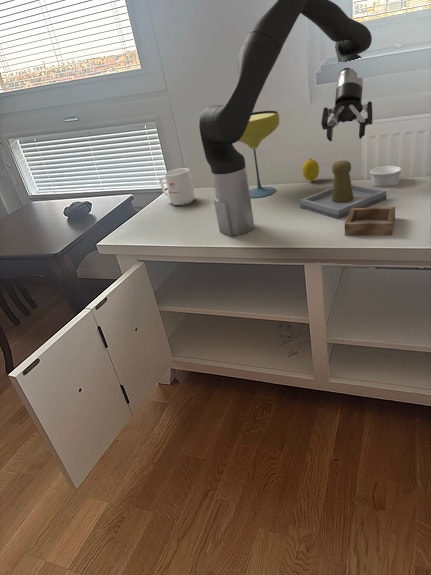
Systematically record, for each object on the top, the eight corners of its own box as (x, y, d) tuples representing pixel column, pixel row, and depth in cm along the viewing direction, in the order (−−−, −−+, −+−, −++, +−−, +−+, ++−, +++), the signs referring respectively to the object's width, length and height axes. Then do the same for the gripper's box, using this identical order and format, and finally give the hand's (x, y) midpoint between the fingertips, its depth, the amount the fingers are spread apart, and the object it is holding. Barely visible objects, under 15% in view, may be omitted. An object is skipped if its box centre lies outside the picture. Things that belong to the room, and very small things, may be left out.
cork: (338, 204, 123) (336, 166, 117) (328, 199, 128) (326, 162, 123) (357, 199, 123) (356, 160, 118) (346, 194, 129) (345, 157, 124)
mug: (199, 197, 157) (193, 167, 152) (188, 206, 150) (181, 175, 145) (171, 198, 162) (164, 169, 157) (159, 207, 155) (152, 177, 150)
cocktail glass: (273, 202, 138) (263, 120, 126) (225, 201, 147) (211, 125, 136) (294, 183, 151) (287, 108, 139) (248, 184, 160) (238, 113, 148)
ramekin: (374, 179, 140) (374, 166, 138) (403, 178, 136) (403, 165, 134) (367, 188, 134) (367, 174, 132) (397, 188, 130) (397, 173, 127)
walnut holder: (344, 235, 107) (344, 224, 105) (351, 218, 115) (350, 208, 114) (391, 235, 102) (392, 223, 101) (394, 217, 111) (395, 206, 109)
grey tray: (338, 219, 116) (338, 210, 115) (300, 207, 129) (299, 199, 128) (386, 199, 123) (386, 190, 122) (345, 190, 136) (344, 182, 135)
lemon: (318, 178, 152) (317, 155, 148) (320, 182, 147) (319, 159, 143) (302, 180, 153) (301, 157, 149) (304, 185, 148) (302, 161, 144)
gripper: (322, 85, 129) (318, 133, 125) (373, 77, 123) (370, 128, 119) (327, 101, 135) (322, 147, 132) (375, 94, 129) (372, 143, 126)
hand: (345, 138), depth 125 cm, fingers open, 8 cm apart
